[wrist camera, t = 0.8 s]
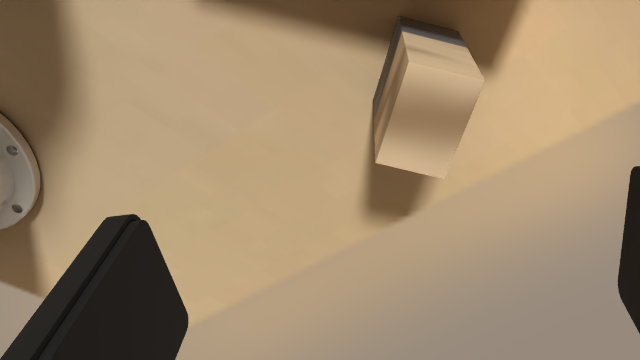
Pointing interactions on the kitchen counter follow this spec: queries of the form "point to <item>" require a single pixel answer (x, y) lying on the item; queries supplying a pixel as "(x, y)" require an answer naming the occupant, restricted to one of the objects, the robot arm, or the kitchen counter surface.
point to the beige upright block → (424, 98)
